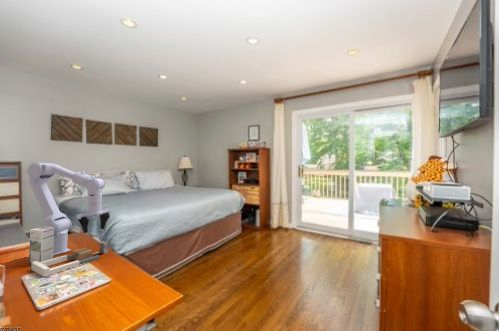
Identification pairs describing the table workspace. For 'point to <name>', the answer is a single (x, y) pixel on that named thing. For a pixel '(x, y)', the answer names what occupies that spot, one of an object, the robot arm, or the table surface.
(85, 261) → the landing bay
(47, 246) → the syrup box
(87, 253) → the lopsided dumbbell
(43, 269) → the frame
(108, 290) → the table surface
